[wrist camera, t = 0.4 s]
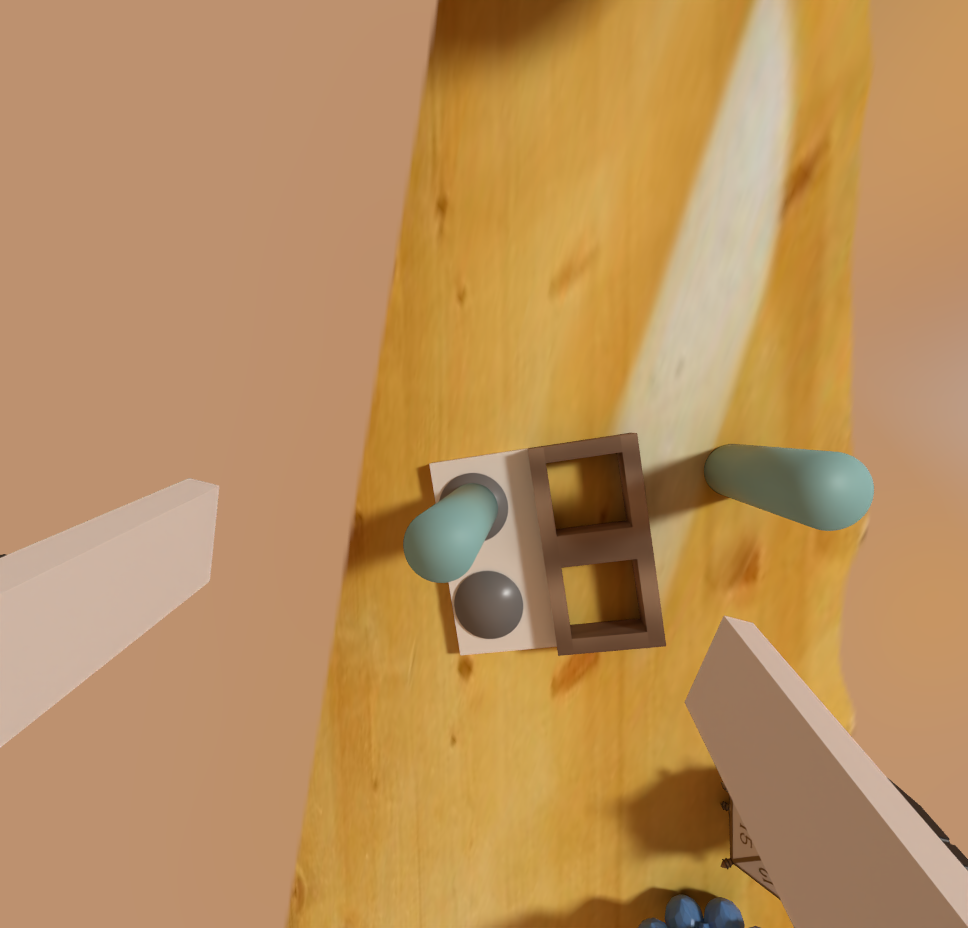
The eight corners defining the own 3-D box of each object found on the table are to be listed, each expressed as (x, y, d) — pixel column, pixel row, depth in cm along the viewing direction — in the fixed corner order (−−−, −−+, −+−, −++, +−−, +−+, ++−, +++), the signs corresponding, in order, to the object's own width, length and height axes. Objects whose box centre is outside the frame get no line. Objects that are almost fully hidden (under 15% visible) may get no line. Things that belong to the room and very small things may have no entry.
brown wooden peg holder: (528, 448, 37) (527, 449, 34) (630, 432, 36) (637, 433, 33) (557, 640, 37) (558, 655, 35) (657, 631, 36) (666, 646, 34)
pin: (458, 475, 36) (418, 498, 24) (505, 494, 36) (487, 526, 24) (441, 521, 37) (393, 565, 25) (487, 540, 36) (460, 594, 24)
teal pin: (717, 436, 35) (808, 439, 23) (768, 455, 34) (888, 469, 22) (695, 484, 35) (774, 512, 23) (746, 504, 35) (852, 542, 23)
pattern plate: (432, 462, 38) (428, 464, 36) (528, 448, 37) (527, 449, 35) (462, 649, 39) (459, 656, 37) (557, 640, 37) (557, 647, 36)
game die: (754, 744, 40) (897, 796, 31) (756, 860, 37) (910, 952, 29) (682, 744, 36) (820, 803, 27) (678, 872, 34) (828, 981, 25)
